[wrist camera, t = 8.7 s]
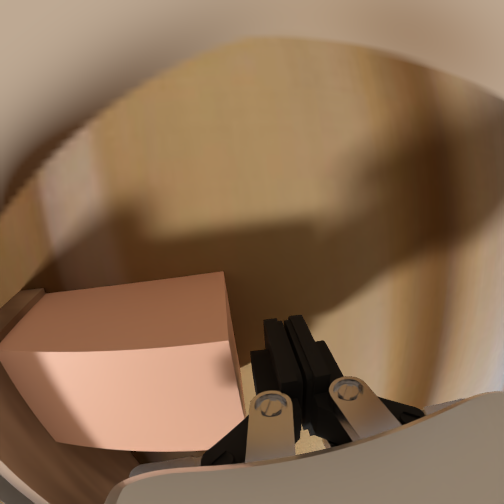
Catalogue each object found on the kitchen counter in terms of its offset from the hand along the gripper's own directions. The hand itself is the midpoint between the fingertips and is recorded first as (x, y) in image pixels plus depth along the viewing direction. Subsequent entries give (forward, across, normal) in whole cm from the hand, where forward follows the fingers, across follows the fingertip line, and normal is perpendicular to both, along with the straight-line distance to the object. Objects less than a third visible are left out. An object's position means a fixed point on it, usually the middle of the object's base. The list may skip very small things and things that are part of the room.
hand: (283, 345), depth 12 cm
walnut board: (+3, +13, +8) cm, 16 cm away
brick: (+3, +7, 0) cm, 8 cm away
